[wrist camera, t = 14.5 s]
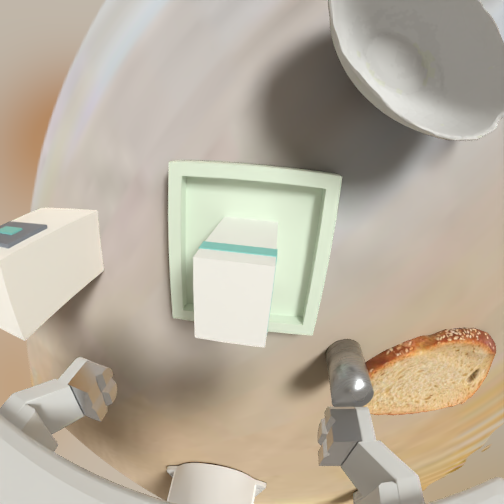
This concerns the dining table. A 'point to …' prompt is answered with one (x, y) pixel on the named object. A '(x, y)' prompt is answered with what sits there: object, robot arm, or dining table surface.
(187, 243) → the tray
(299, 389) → the dining table surface
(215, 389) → the dining table surface
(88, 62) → the dining table surface
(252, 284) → the teal band cartridge
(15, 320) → the cream tall block
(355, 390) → the cylinder
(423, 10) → the teacup
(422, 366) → the bread slice
